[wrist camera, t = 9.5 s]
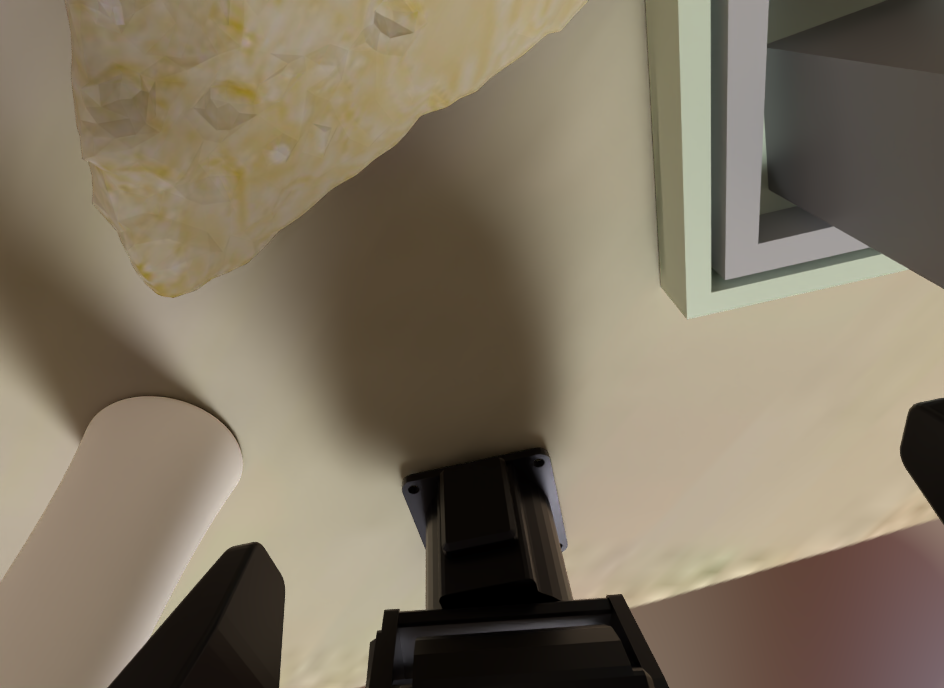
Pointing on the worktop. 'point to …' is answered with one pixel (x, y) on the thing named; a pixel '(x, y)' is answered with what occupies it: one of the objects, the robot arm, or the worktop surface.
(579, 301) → the worktop surface
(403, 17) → the cheese
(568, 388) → the worktop surface
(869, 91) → the plug
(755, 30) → the box
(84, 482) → the cosmetic bottle
